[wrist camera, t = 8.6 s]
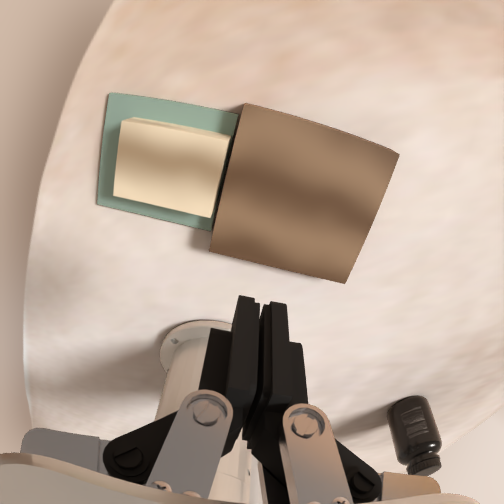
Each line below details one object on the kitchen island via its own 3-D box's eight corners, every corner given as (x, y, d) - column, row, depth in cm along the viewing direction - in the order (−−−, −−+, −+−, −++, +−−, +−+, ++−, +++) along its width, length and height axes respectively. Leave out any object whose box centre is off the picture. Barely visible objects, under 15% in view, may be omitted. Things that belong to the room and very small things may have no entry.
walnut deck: (340, 271, 29) (344, 284, 27) (212, 240, 28) (208, 251, 26) (390, 149, 23) (399, 154, 22) (245, 103, 22) (243, 104, 21)
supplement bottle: (378, 419, 42) (392, 485, 31) (400, 394, 39) (420, 465, 28) (412, 418, 42) (429, 479, 32) (435, 394, 39) (457, 458, 29)
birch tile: (214, 206, 26) (210, 218, 24) (124, 186, 25) (113, 195, 23) (231, 135, 23) (227, 140, 21) (134, 117, 23) (121, 120, 20)
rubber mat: (211, 229, 28) (210, 231, 27) (99, 202, 27) (97, 204, 26) (238, 114, 23) (238, 114, 22) (111, 92, 22) (109, 92, 22)
